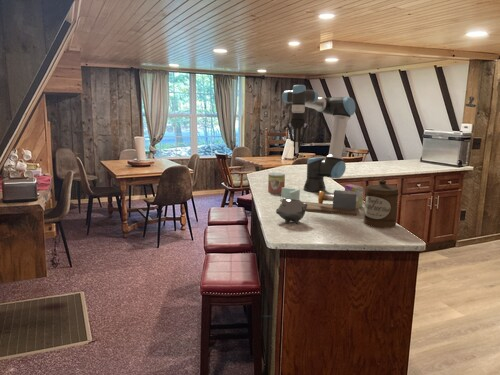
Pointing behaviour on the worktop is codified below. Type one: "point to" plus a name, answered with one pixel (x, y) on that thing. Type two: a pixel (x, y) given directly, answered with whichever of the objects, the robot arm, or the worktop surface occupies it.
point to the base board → (328, 209)
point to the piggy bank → (291, 210)
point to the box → (359, 193)
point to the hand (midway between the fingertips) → (296, 153)
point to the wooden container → (381, 205)
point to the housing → (344, 200)
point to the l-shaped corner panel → (290, 193)
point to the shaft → (327, 197)
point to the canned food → (276, 182)
